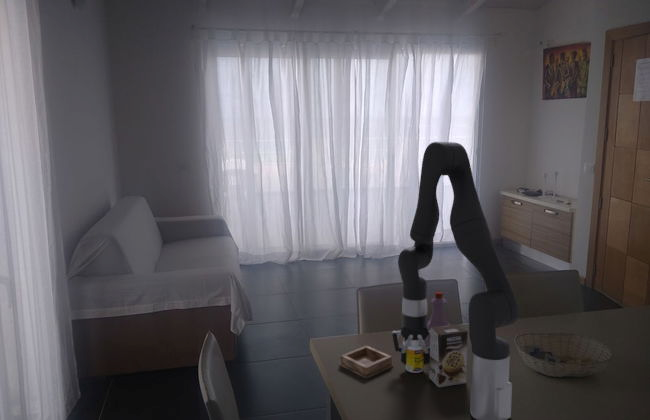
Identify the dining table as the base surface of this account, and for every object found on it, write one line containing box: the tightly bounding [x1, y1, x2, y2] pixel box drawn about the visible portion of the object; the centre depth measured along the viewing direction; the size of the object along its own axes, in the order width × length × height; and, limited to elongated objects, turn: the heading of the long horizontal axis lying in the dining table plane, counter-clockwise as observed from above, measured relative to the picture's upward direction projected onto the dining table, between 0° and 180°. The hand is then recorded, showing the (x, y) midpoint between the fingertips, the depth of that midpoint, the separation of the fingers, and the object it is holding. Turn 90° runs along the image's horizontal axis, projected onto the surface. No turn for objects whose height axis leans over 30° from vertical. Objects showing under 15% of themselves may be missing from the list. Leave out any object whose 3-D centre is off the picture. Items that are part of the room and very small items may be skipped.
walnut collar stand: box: [339, 344, 394, 380], centre depth 161 cm, size 12×12×3 cm
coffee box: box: [428, 324, 469, 388], centre depth 149 cm, size 9×6×16 cm
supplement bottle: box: [404, 340, 425, 374], centre depth 157 cm, size 6×6×10 cm
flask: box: [424, 291, 451, 354], centre depth 170 cm, size 16×16×20 cm
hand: (414, 363), depth 157 cm, fingers closed on supplement bottle, 5 cm apart
